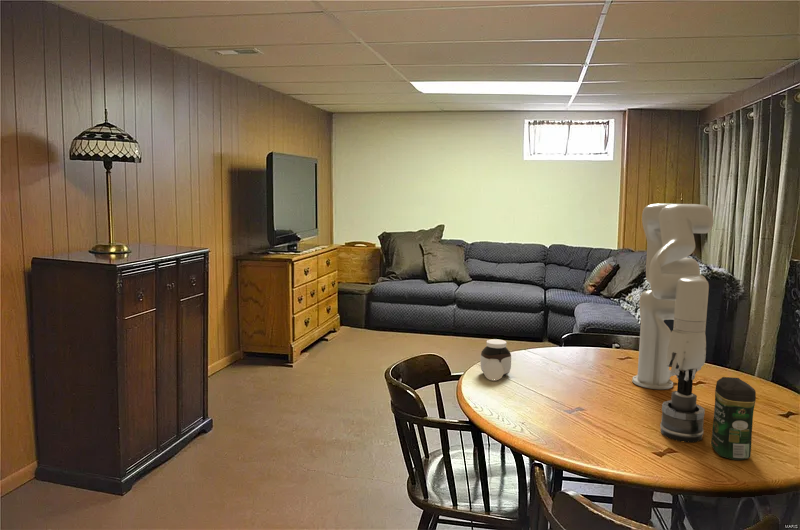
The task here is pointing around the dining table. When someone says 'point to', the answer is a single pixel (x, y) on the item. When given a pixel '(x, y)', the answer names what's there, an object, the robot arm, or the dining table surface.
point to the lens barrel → (682, 423)
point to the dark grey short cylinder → (683, 402)
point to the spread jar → (495, 359)
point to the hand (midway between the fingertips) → (684, 393)
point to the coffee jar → (733, 418)
